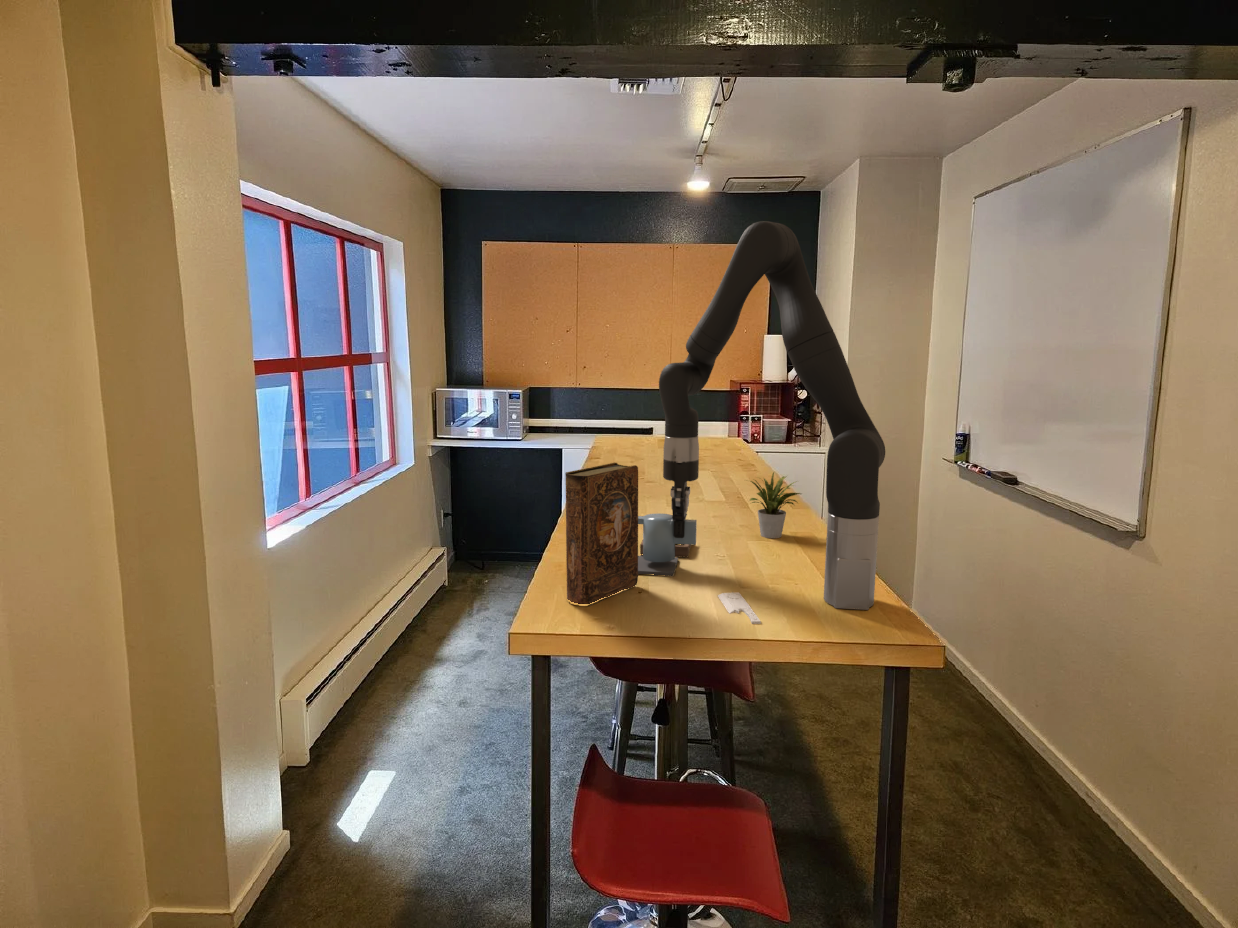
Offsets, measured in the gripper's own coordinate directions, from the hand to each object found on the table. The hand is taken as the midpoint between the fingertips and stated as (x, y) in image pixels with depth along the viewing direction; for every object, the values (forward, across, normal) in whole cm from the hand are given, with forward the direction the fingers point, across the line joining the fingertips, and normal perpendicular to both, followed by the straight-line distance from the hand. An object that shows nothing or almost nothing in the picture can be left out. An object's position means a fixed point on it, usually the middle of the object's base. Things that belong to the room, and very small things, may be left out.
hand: (679, 535), depth 163 cm
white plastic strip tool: (+8, +22, +13) cm, 27 cm away
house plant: (+8, -30, +20) cm, 37 cm away
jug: (+5, 0, -3) cm, 6 cm away
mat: (+7, 0, -6) cm, 10 cm away
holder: (+7, -14, -4) cm, 16 cm away
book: (+8, +18, -14) cm, 24 cm away
